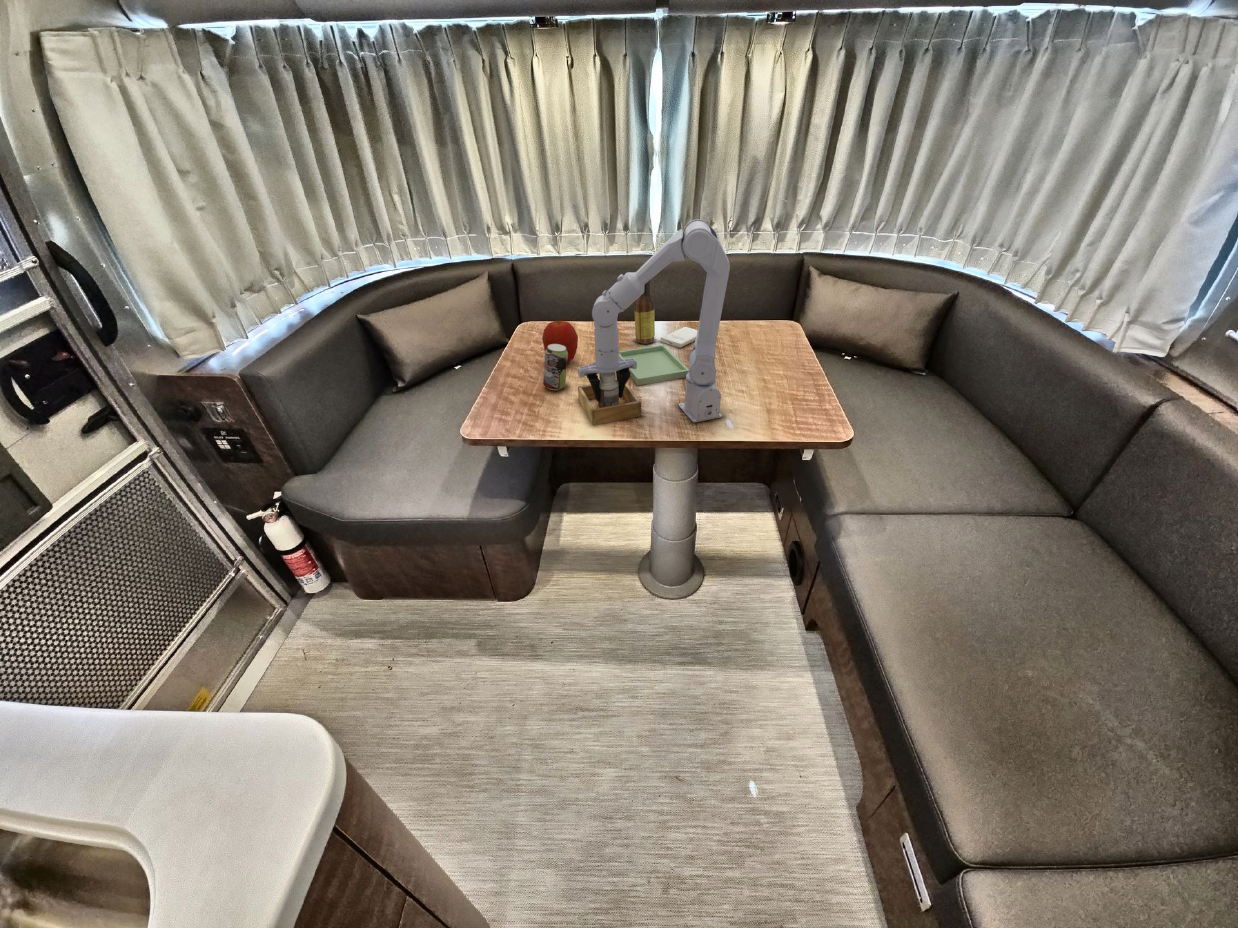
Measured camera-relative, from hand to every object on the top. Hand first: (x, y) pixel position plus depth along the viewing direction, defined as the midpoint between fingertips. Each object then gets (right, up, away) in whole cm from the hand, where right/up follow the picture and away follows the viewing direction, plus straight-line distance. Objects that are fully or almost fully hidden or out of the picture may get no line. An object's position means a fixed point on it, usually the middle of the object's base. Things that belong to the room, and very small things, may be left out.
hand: (608, 397), depth 135 cm
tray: (+12, +12, +21) cm, 27 cm away
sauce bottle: (+11, +23, +37) cm, 45 cm away
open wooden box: (0, -2, +2) cm, 3 cm away
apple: (-14, +13, +25) cm, 32 cm away
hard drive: (+23, +24, +38) cm, 50 cm away
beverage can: (-15, +4, +12) cm, 19 cm away
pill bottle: (0, -2, +2) cm, 3 cm away
